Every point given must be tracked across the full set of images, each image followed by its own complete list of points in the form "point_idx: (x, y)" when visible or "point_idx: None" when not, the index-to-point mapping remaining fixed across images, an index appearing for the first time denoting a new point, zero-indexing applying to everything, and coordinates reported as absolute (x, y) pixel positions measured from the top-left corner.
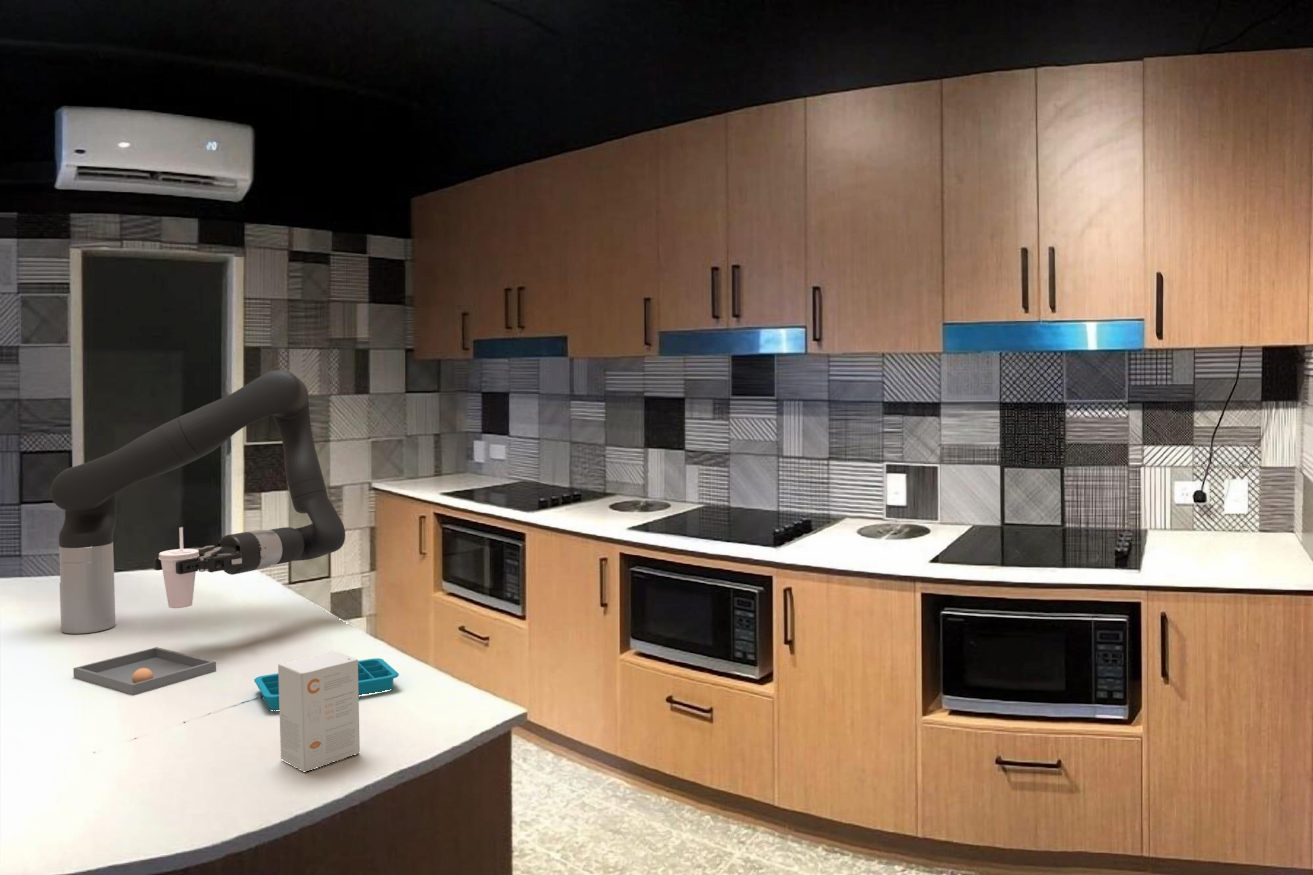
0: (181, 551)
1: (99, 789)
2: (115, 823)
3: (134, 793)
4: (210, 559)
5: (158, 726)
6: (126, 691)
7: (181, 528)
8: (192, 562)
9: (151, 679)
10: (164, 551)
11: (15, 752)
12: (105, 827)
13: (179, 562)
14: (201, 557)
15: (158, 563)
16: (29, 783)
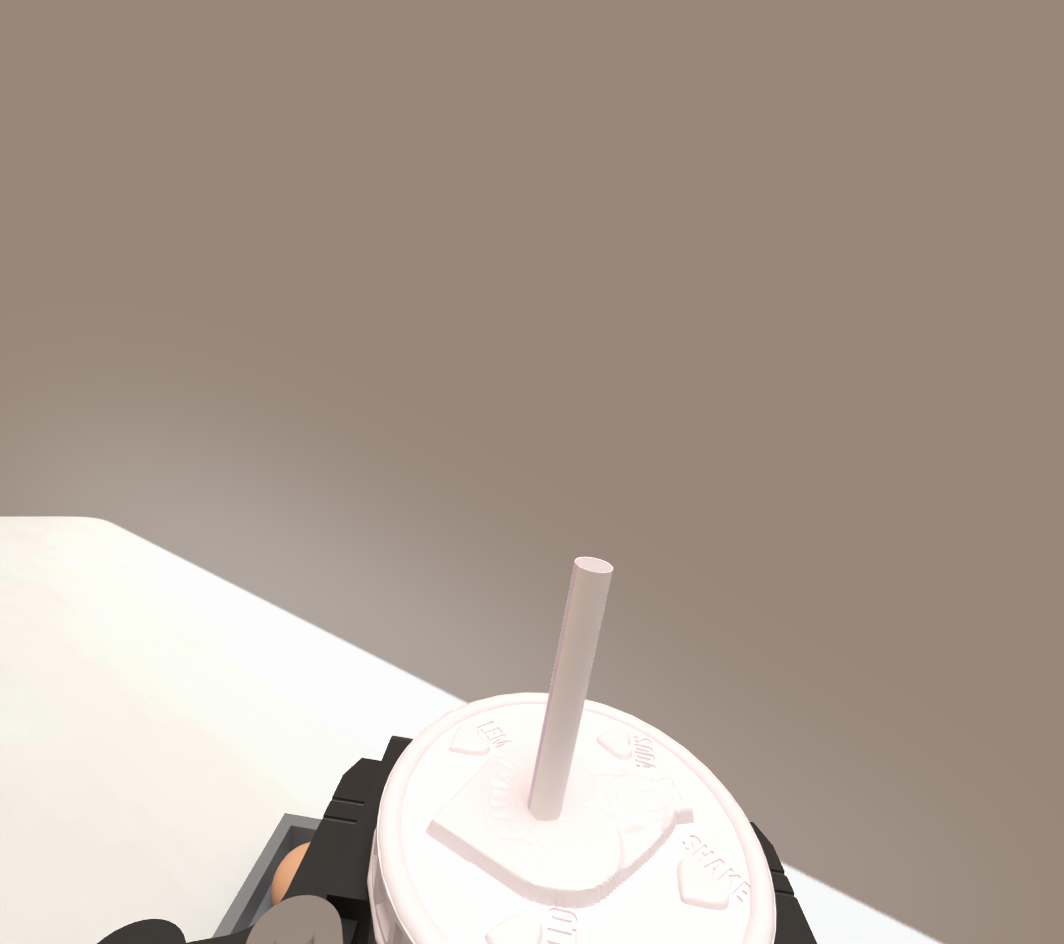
0: (527, 791)
1: (79, 582)
2: (8, 547)
3: (10, 580)
4: (128, 932)
5: (79, 727)
6: None
7: (574, 566)
8: (327, 833)
9: (255, 870)
10: (717, 790)
11: (308, 626)
12: (19, 543)
13: (391, 738)
14: (293, 920)
15: None
16: (203, 584)
